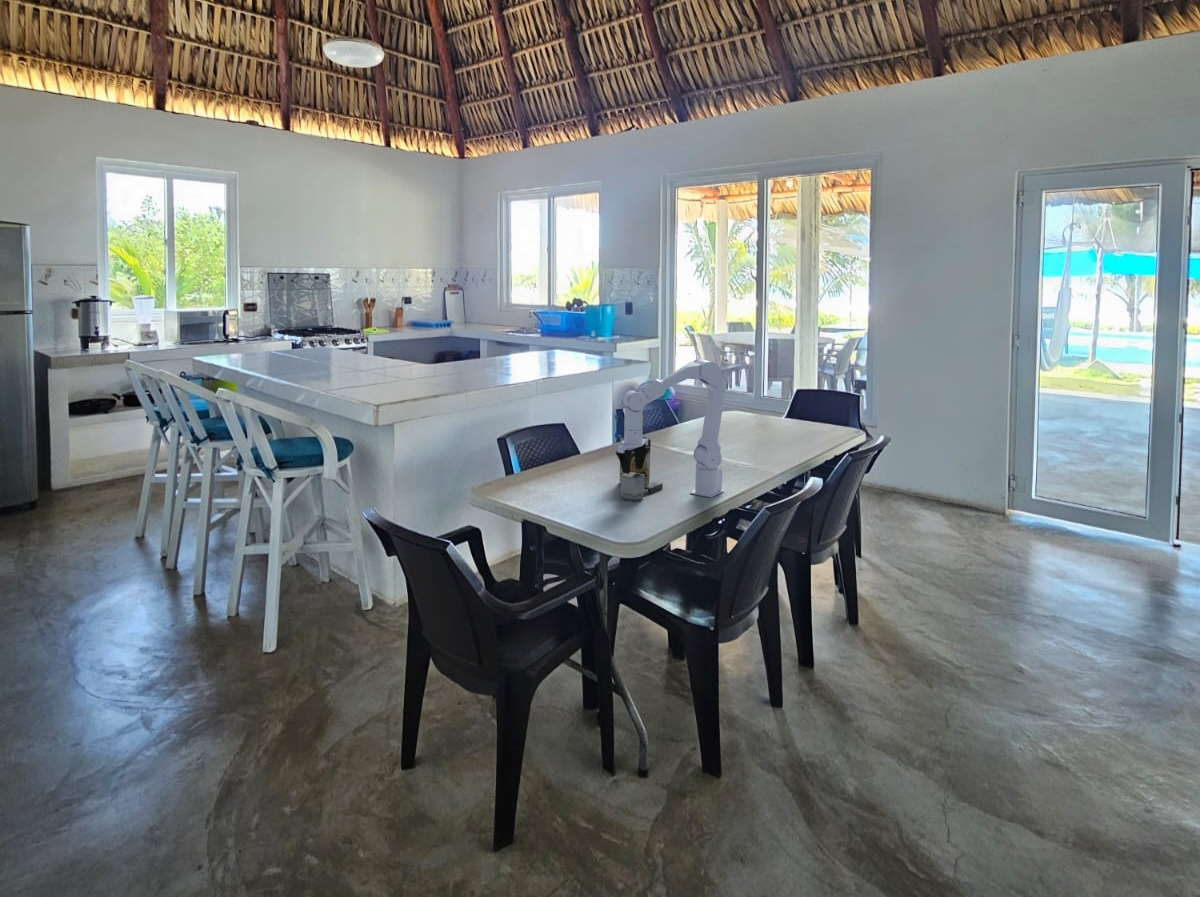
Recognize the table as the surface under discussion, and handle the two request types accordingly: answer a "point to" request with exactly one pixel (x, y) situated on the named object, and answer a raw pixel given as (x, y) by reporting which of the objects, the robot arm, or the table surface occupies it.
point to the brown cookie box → (646, 466)
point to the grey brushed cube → (632, 484)
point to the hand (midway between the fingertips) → (632, 470)
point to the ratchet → (647, 490)
